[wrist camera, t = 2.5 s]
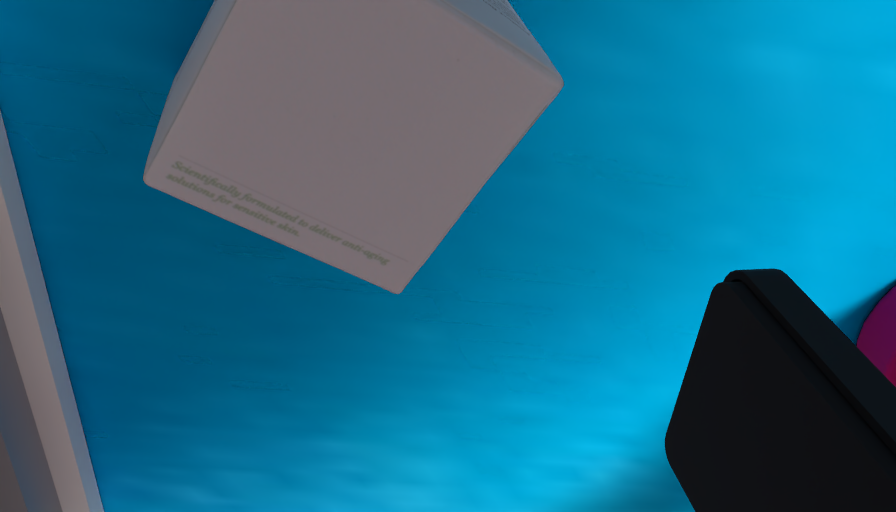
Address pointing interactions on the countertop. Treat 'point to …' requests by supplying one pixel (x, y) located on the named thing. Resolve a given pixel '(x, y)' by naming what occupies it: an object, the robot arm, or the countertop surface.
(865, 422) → the robot arm
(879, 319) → the pepper mill
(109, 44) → the countertop surface
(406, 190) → the small box
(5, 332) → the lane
